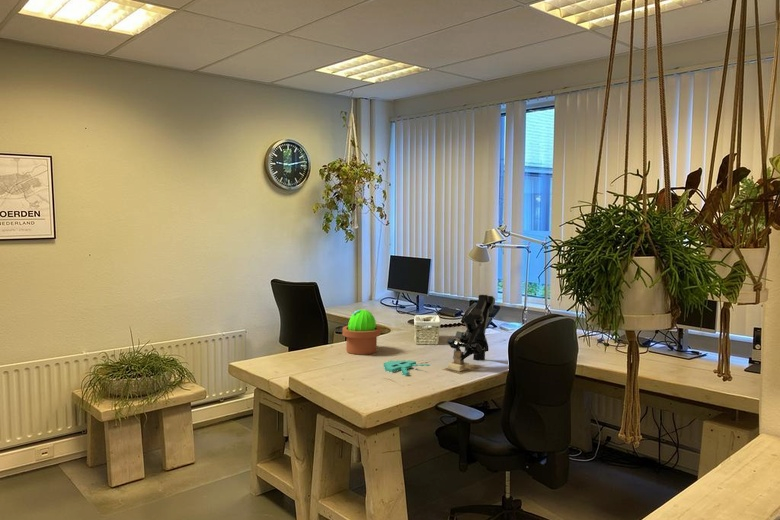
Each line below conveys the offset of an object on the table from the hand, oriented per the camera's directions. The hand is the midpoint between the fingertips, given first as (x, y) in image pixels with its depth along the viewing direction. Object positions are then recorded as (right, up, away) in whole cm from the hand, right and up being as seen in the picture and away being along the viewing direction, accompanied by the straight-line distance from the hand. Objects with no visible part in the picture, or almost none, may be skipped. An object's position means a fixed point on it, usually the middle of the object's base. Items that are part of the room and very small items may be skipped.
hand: (457, 359), depth 288 cm
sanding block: (+1, -5, +1) cm, 5 cm away
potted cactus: (-50, -3, +43) cm, 66 cm away
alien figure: (-27, -7, +8) cm, 29 cm away
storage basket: (-11, -1, +72) cm, 73 cm away
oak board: (+3, -7, +4) cm, 8 cm away
